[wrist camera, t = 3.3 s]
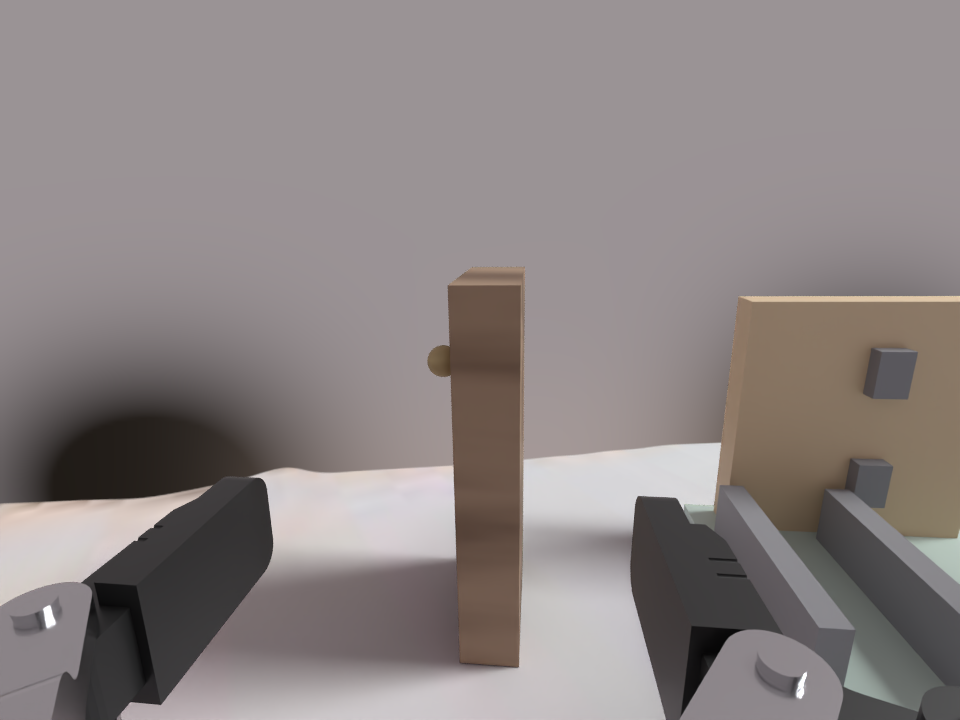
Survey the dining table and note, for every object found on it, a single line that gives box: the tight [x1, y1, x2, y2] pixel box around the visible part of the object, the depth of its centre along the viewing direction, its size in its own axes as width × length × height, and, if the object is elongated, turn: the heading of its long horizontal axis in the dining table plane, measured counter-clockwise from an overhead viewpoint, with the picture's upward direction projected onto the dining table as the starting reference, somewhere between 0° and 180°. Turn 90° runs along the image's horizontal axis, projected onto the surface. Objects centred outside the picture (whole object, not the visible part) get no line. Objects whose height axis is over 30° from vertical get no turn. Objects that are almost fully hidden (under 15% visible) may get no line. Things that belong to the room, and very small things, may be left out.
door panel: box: [428, 267, 525, 667], centre depth 23 cm, size 7×4×16 cm, turn 174°
